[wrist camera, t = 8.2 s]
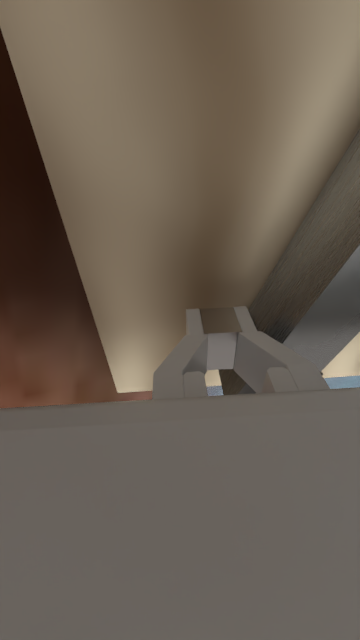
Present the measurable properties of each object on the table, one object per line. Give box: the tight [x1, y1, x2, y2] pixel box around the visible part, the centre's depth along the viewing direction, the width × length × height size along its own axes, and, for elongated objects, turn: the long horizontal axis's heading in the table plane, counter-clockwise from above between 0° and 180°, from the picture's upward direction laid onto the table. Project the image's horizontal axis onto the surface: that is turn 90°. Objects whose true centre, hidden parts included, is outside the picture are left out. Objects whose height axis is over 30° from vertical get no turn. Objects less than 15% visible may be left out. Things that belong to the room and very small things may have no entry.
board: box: [0, 0, 360, 393], centre depth 10 cm, size 22×18×2 cm
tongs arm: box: [219, 129, 360, 395], centre depth 9 cm, size 13×3×3 cm, turn 161°
